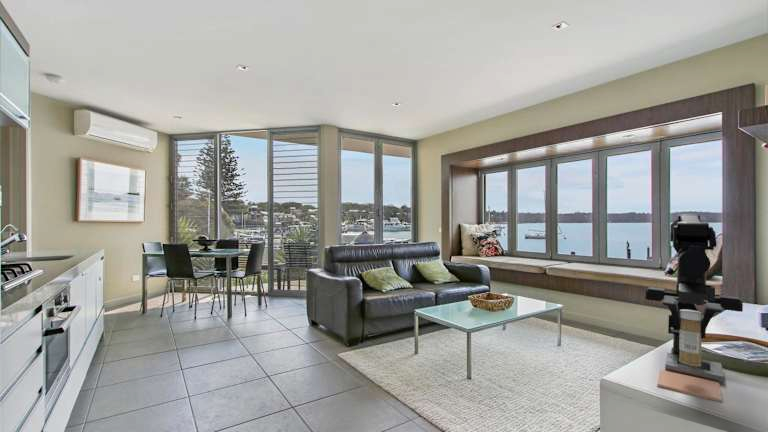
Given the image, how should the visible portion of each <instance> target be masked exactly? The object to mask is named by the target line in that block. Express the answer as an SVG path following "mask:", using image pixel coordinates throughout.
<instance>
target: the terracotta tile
mask: <svg viewBox="0 0 768 432" xmlns="http://www.w3.org/2000/svg"><path fill="white" fill-rule="evenodd" d="M658 386H659V388H662V387H663V388H664V389H666V390H670V391H675V392H680V393H683V394H688V395H691V396H695V397H700V398H702V399H703V398H704V399H707V400H712V401H715V402H719V403H722V402H723V398H722V391H721V384H719V382H715V381H710V380H706V379H701V378H697V377H692V376H688V375H683V374H679V373H674V372H670V371H666V370H665V369H660V370H659V375H658V381H657V387H658Z"/></svg>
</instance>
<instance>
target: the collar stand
mask: <svg viewBox="0 0 768 432" xmlns="http://www.w3.org/2000/svg"><path fill="white" fill-rule="evenodd" d="M664 364H665V365H664V370H666V371H670V372H674V373H679V374H683V375H688V376H692V377H697V378H701V379H706V380H710V381H715V382H719V385H725V375H724V371H723V365H722V363H721V362H716V361H713V360H712V361H711V360H707V359H706V360H705V359H702V358H701V366H697V367H696V366H689V365H686V364H683V363H681V362H680V361H679V355H677V354H672V353H671V352H667V353H666V358H665V363H664Z"/></svg>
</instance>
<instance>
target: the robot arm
mask: <svg viewBox="0 0 768 432" xmlns="http://www.w3.org/2000/svg"><path fill="white" fill-rule="evenodd" d="M669 228H670V229H669V230H670V232H669V233H670V234H669V235H670V237H669V241H670V242H672V247H673V249H674V250H675V252H676V253H677V263H676V265H677V271H676V276H677V277H676V292H671V291H666V288H664V287H655V286H654V287H653V286H649V287H647V288H646V290H645V300H647V301H655V302H661V301H662V305H663V306H667V308H668V309H669V311H670V313H668V320H667V322H668V325H667V326H668V327H667V329H668V330H667V331H668V332H667V333H668V334H670V335H672V337H673V338H672V347H671V350H670V353H672V354H677V355H679V352H680V349H679V335H680V317H679V310H681V309H687V310H695V311H699V312H700V310H699V309H698V306H704V310H703V314H702V320H701V321H702V322H701V340H703V339H706V331H707V328H708V325H709V323H710V321H711V319H712V318H713V317H714V315H715V314H716V313H722V312H723V310H722V309H724V310H726V311H731V312H732V311H733V312H741V313H742V312H743V310H744V309H743V307H744V304H743V300H742V299H741V298H740V297H739V296H737V295H736V296H734V295H727V294H726V295H725V294H719V295H718V297H716V286H715V285H710V284H707V271H709V269H710V268H711V260H710V257H709V256H708V255H707V253H706V250H707V251H714V248H716V247H717V237H716V231H715V230H714V228H713V226H710V223H709V222H707V221H706V222H705V221H704V222H703V221H701V215H700V214H696V213H681V214H678V215H677V219H676V220H675V221H673V222H672V223H670V227H669Z"/></svg>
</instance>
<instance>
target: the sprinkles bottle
mask: <svg viewBox="0 0 768 432" xmlns="http://www.w3.org/2000/svg"><path fill="white" fill-rule="evenodd" d="M679 317H680V335H679V349H680V352H679V361H680V362H681V363H683V364H686V365H689V367H690V366H696V367H697V366H701V359H702V343H703V342H702V339H701V322H702V321H701V320H702V319H703V313H702V312H701V311H700V310H699V311H695V310H687V309H681V310H679Z"/></svg>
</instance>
